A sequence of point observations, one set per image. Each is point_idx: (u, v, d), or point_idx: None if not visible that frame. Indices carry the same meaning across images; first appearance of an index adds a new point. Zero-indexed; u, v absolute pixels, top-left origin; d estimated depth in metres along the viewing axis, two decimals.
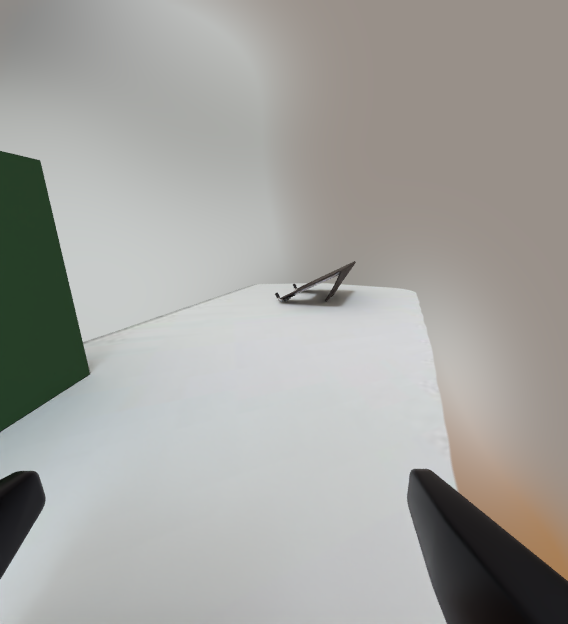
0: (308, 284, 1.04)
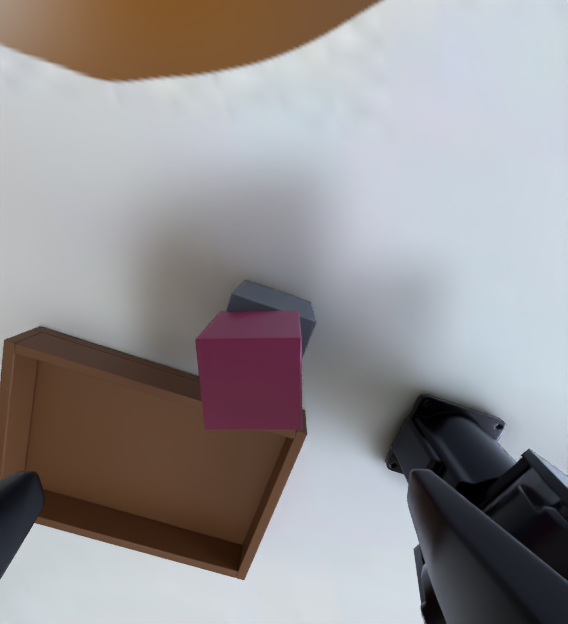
0: None
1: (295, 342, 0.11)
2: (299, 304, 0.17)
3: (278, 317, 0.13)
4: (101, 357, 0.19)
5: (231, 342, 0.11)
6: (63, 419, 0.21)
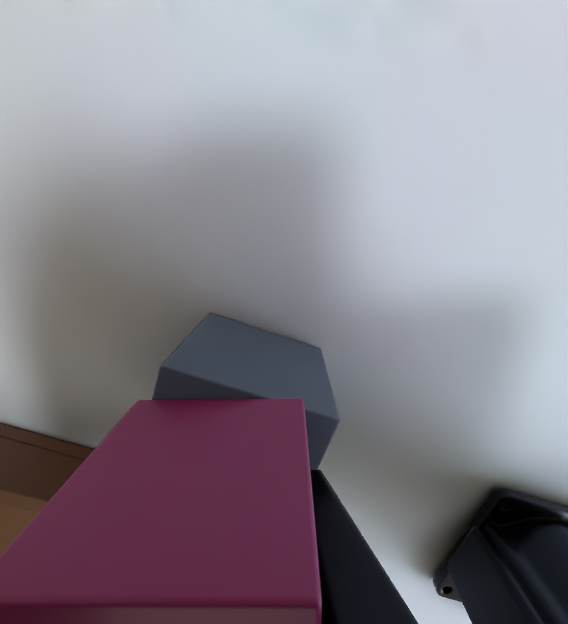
0: None
1: (301, 616, 0.03)
2: (302, 362, 0.10)
3: (257, 435, 0.06)
4: None
5: (82, 613, 0.03)
6: None
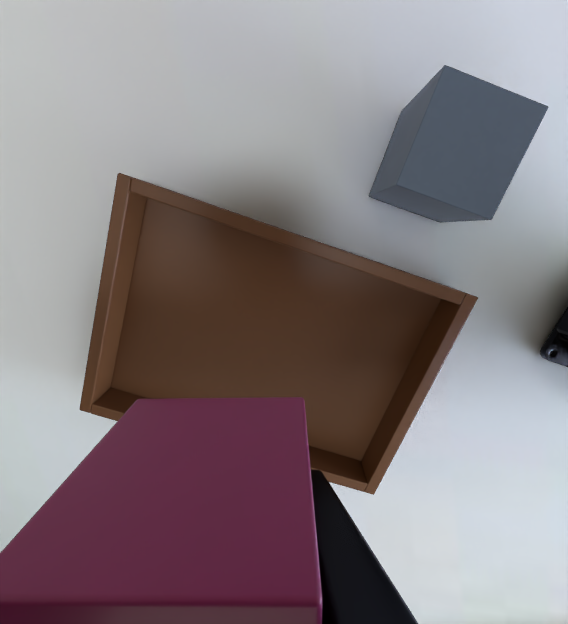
0: None
1: (301, 615, 0.03)
2: None
3: (257, 433, 0.06)
4: None
5: (80, 612, 0.03)
6: (165, 301, 0.18)
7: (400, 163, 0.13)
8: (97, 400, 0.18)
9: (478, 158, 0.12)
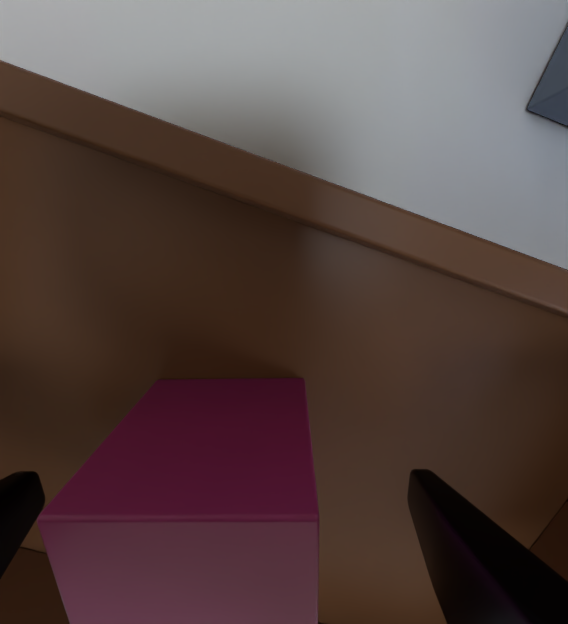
0: None
1: (303, 528, 0.04)
2: None
3: (264, 405, 0.07)
4: None
5: (130, 528, 0.04)
6: (36, 362, 0.08)
7: None
8: None
9: None
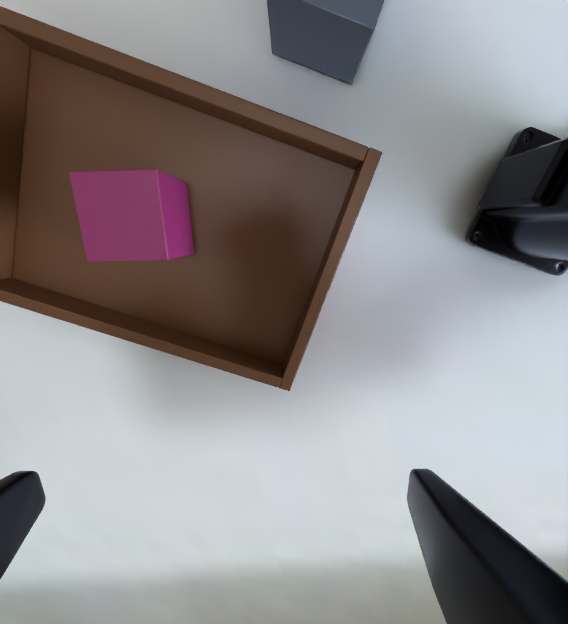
0: None
1: (152, 172, 0.13)
2: None
3: None
4: None
5: (98, 174, 0.13)
6: (61, 175, 0.17)
7: None
8: None
9: None
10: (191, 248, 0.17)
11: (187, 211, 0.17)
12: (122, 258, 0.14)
